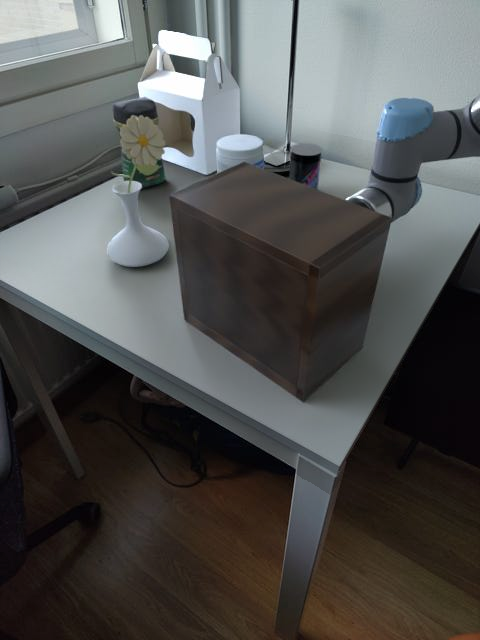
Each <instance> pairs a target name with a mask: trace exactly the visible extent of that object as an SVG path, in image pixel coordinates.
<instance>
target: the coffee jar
mask: <svg viewBox="0 0 480 640" xmlns="http://www.w3.org/2000/svg"><path fill="white" fill-rule="evenodd" d="M156 109H157V108H156V105H155V102H154V101H153V100H151V99H149V98H147V97H142V98H140V97H138V98H132V99H128V100H124V101H117V102H114V103H112V120H113V121H112V122H113V124H114V126H115V127H116V129H117V132H118V136H119V143H120V154H121V170H122V174H124V175H128V176H130V177H131V175H132V172H133V170H134V166H135V164H133V163H132V159H129V158H128V157H127V154H124V153H123V151H122V149H123V148H122V144H121V142H120V140H121V139H122V137H121V136H120V132H121V130H120V128H121V127H122V125H123V124H125V125H127V123H126V122H127V120H128V119H129V118H130V119H131V116H132V115H134V116H137V117H138V118H139V116H140V115H142V116H143V117H144V118H145V117H148V118H149V119H151V120H152V121H153V124H155V125H157V124H158V113H157V110H156ZM156 164H157V165H158V166H159V169H158V170H157V171H155V172H154V173H152V174H150V175H144V174H143V173H141V172H140V171H139V170H138V169H137V168H136V170H135V173H134V176H133V179H132V181H136V182H139V183H141V185H142V188H141V189H145V188H148V187H152V186H156V185H158V184H161V183H163V182H164V181H165V180H166V172H165V165H164V161H163V159H162V158H161V159H160V160H158V159H157V163H156ZM137 165H138V164H137ZM122 178H123V181H130V178H127V177H122Z"/></svg>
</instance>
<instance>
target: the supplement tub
mask: <svg viewBox="0 0 480 640" xmlns="http://www.w3.org/2000/svg"><path fill="white" fill-rule="evenodd" d="M263 144H264V140H263V139H261V138H260V137H259V136H257V135H256V136H255V135H252V134H245V133H244V134H242V133H240V134H237V135H230V136H226V137H223V138H221V139H219V140H218V141H217V149H216V155H217V170H216V172H217V173H220V172H222V171H224V170H226V169H229V168H231V167H233V166H236V165H238V164H240V163H243V162H246V163H249V164H251V165H254V166H256V167H259V168H262V169H264V170H265V162H264V148H263ZM217 173H216V174H217Z"/></svg>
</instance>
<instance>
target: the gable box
mask: <svg viewBox="0 0 480 640" xmlns="http://www.w3.org/2000/svg"><path fill="white" fill-rule="evenodd" d="M215 50H216V42H212V40H211V38H209V37H205V36H198V35H192V34H186V33H181V32H174V31H168V30H160V31H159V32H158V43H157V44H156V43H155V44H154V43H153V44H152V49H151V52H150V54H149V56H148V59H147V61H146V63H145V65H144V68H143V70H142V73H141V75H140V77H139V80H138V82H137V88H138V95H139V98H142V97H147V98H149V99H151V100H153V101H154V102H155V105H156V108H157V109H156V110H157V113H158V124H157V126H158V128H159V130H161V132H162V134H163V136H164V138H163V139H162V140H164V141H165V146H163V148H164V150H165V153H164V154H163V155H162V161H163V160H164V161H167V162H169V163H171V164H174V165H177V166H181V167H183V168H186V169H189V170H192V171H194V172H197V173H200V174H203V175H205V176H207V175H210V174H212V173H214V172H217V155H216V149H217V141H218V140H219V139H221V138H223V137H226V136H230V135H237V134H241V89H240V88H241V87H240V85H239V84H238V83H237V81H236V80H235V78H234V77H233V75H232V73H231V72H230V70H229V68H228V66H227V65H226V64H225V61H223V58H222V57H221V56H220V54H218V53H215ZM170 55H173V56H178V57H183V58H189V59H192V60H193V59H194V60H199V61H204V62H205V63H206V66H205V75H204V78H203V77H199V76H195V75H190V74H186V73H181V72H176V69H175V67H174V64H173V62H172V59H171V57H170ZM191 116H192V117H193V119H194V129H192V125H191Z"/></svg>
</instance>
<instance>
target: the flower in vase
mask: <svg viewBox="0 0 480 640" xmlns="http://www.w3.org/2000/svg"><path fill="white" fill-rule="evenodd" d="M126 123H127V125H125V124H123V125H122V127H121V128H120V130H121V132H120V136H121V137H122V139H121V140H120V139H119V143H120V142H121V144H122V148H123V149H122V151H123V153H124V154H127V157H128V158H129V159H132V163H133V164H135V166H134V170H133V172H132V175H131V177H130V176H128V175H124V174H123V173H115V172H114V171H112V170H110V174H111V175H112V176H115V177H121V178H123V177H127V178H130V181H124V180H123V181H119V182H117V183H115V184H114V185H113V186H112V187H111V190H112V192H113V193H114V194H115V195H116V196H117V197H118V198H119V200H120V203H121V204H122V208H123V210H124V215H125V219H126V223H125V226H124V227H123V229H121V230H120V231H119V232H118V233H116V234H115V236H113V237H112V239H111V240H110V241H109V243H108V245H107V249H106V252H107V257H108V258H109V259H110V260H111V261H112V262H113V263H115V264H117V265H119V266H122V267H127V268H138V267H139V268H140V267H145V266H149V265H152V264H154V263H157V262H158V261H160V260H162V258H163V257H164V256H165V255H166V254H167V252H168V250H169V248H170V247H169V246H170V244H169V242H168V239H167V238H166V236H165V235H164V234H162V233H161V232H160V231H158V230H156V229H154V228H151V227H149V226H147V225H145V224H143V223H142V221H141V219H140V215H139V209H138V198H139V194H140V192H141V190H142V189H143V188H142V185H141V183H139V182H136V181H132V179H133V176H134V173H135V170H136V168H137V169H138V170H139V171H140V172H141V173H143V174H144V175H150V174H152V173H154V172H155V171H157V170H158V169H159V166H158V165H157V164H156V163H157V159H158V160H160V159H161V158H162V155H163V154H164V153H165V150H164V148H163V146H165V141H164V140H162V139H163V138H164V136H163V134H162V132H161V130H159V128H158V126H157V125H155V124H153V121H152V120H151V119H149V118H148V117H145V118H144V117H143V116H142V115H140V116H139V118H138V117H137V116H134V115H132V116H131V119H130V118H129V119H128V120H127V122H126ZM121 144H120V145H121ZM137 164H138V165H137Z"/></svg>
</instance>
